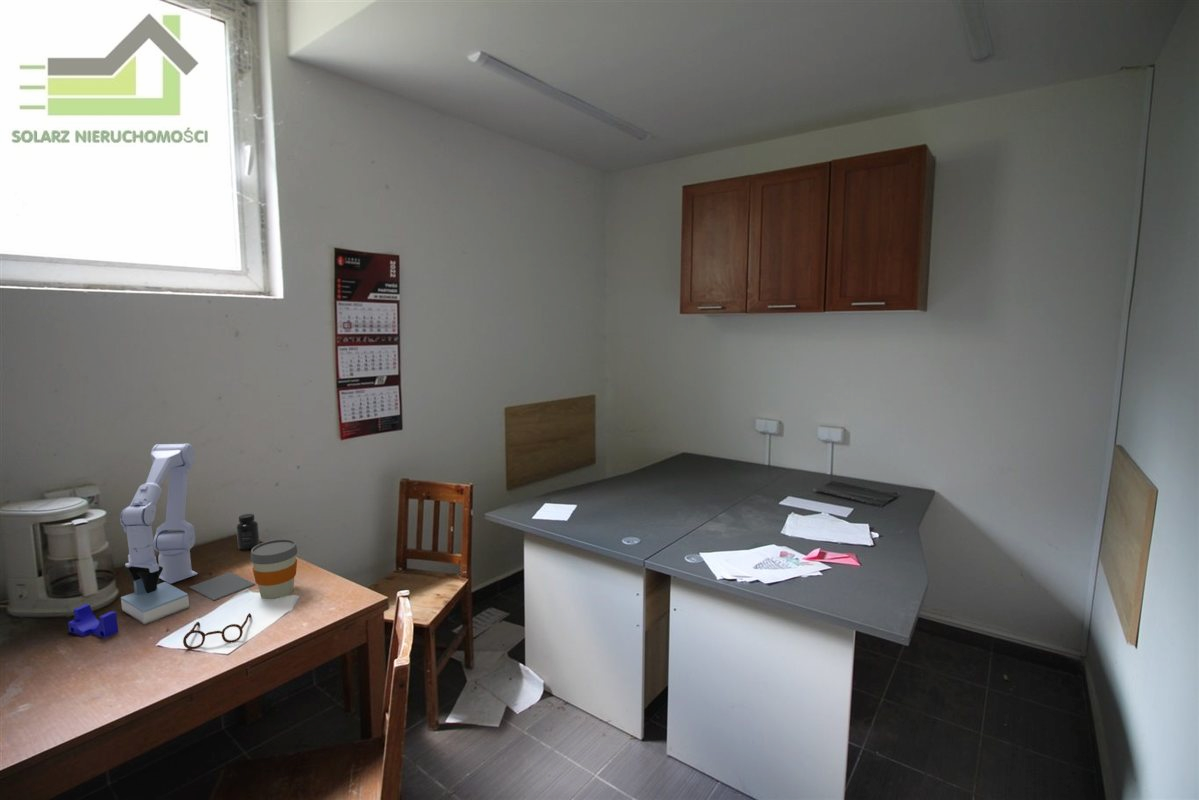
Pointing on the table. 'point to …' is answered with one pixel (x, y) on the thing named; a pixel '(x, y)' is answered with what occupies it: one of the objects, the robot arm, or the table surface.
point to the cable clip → (93, 623)
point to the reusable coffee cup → (274, 567)
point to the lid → (152, 596)
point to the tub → (155, 610)
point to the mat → (221, 586)
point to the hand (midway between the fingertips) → (146, 588)
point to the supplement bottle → (247, 532)
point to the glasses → (214, 633)
